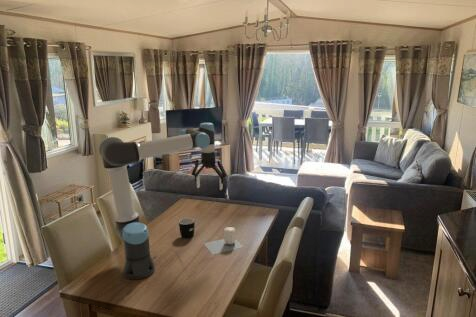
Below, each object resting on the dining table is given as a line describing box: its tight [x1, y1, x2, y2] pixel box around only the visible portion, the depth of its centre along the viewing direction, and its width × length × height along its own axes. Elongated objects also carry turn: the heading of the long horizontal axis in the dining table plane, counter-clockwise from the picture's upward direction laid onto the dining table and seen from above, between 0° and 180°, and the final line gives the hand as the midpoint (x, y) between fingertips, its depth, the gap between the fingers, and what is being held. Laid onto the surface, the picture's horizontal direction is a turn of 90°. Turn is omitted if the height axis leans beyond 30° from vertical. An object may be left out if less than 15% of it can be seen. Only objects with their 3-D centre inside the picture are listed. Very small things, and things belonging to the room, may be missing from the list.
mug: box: [178, 217, 196, 239], centre depth 211 cm, size 12×9×10 cm
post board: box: [203, 238, 244, 255], centre depth 197 cm, size 18×14×8 cm
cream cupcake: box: [223, 226, 236, 244], centre depth 198 cm, size 6×6×7 cm
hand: (209, 188), depth 202 cm, fingers open, 13 cm apart
